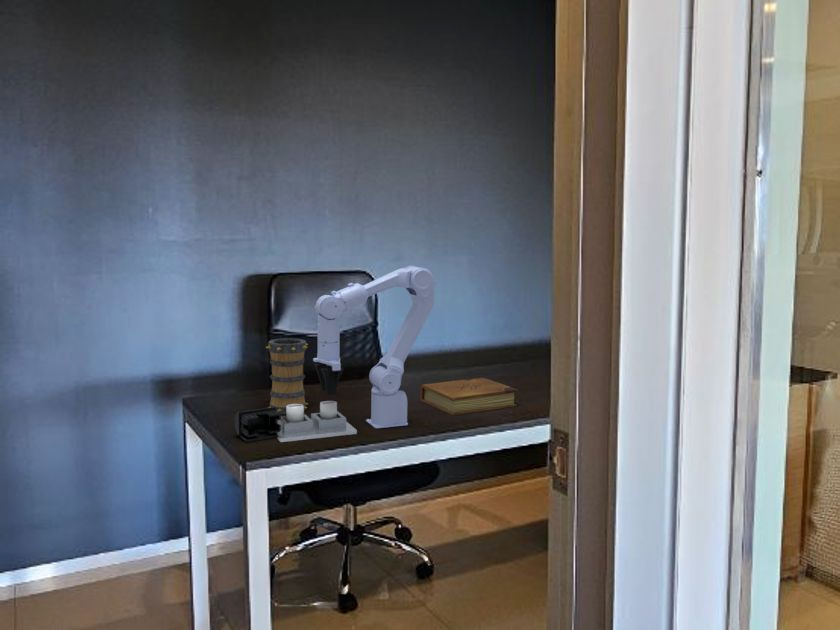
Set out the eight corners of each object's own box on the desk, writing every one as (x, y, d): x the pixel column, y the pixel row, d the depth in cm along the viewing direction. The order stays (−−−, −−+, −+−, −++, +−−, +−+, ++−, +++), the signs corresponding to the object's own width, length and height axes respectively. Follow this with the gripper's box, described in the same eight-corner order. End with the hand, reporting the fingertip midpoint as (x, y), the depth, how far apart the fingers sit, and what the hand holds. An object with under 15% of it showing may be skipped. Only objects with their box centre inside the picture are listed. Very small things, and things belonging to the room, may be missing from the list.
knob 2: (333, 415, 198) (334, 399, 197) (339, 419, 194) (339, 403, 193) (318, 417, 196) (318, 401, 196) (322, 421, 192) (322, 405, 192)
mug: (273, 417, 205) (272, 346, 202) (255, 403, 220) (254, 337, 217) (316, 412, 211) (316, 343, 209) (296, 398, 226) (296, 334, 224)
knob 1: (301, 418, 194) (301, 402, 194) (305, 423, 190) (305, 406, 190) (284, 420, 192) (284, 404, 192) (288, 424, 188) (288, 408, 188)
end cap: (271, 429, 194) (271, 404, 193) (282, 436, 188) (282, 410, 187) (234, 435, 188) (234, 409, 187) (245, 442, 182) (244, 416, 181)
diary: (481, 394, 238) (482, 377, 238) (516, 408, 222) (517, 389, 222) (419, 401, 227) (420, 383, 226) (452, 416, 211) (453, 397, 210)
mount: (340, 419, 204) (340, 407, 203) (356, 433, 191) (356, 420, 191) (268, 427, 196) (268, 414, 195) (280, 442, 183) (280, 428, 183)
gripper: (306, 337, 197) (306, 387, 199) (321, 347, 184) (321, 400, 186) (331, 336, 200) (331, 385, 202) (348, 345, 187) (348, 397, 189)
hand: (328, 392), depth 194 cm, fingers open, 4 cm apart
